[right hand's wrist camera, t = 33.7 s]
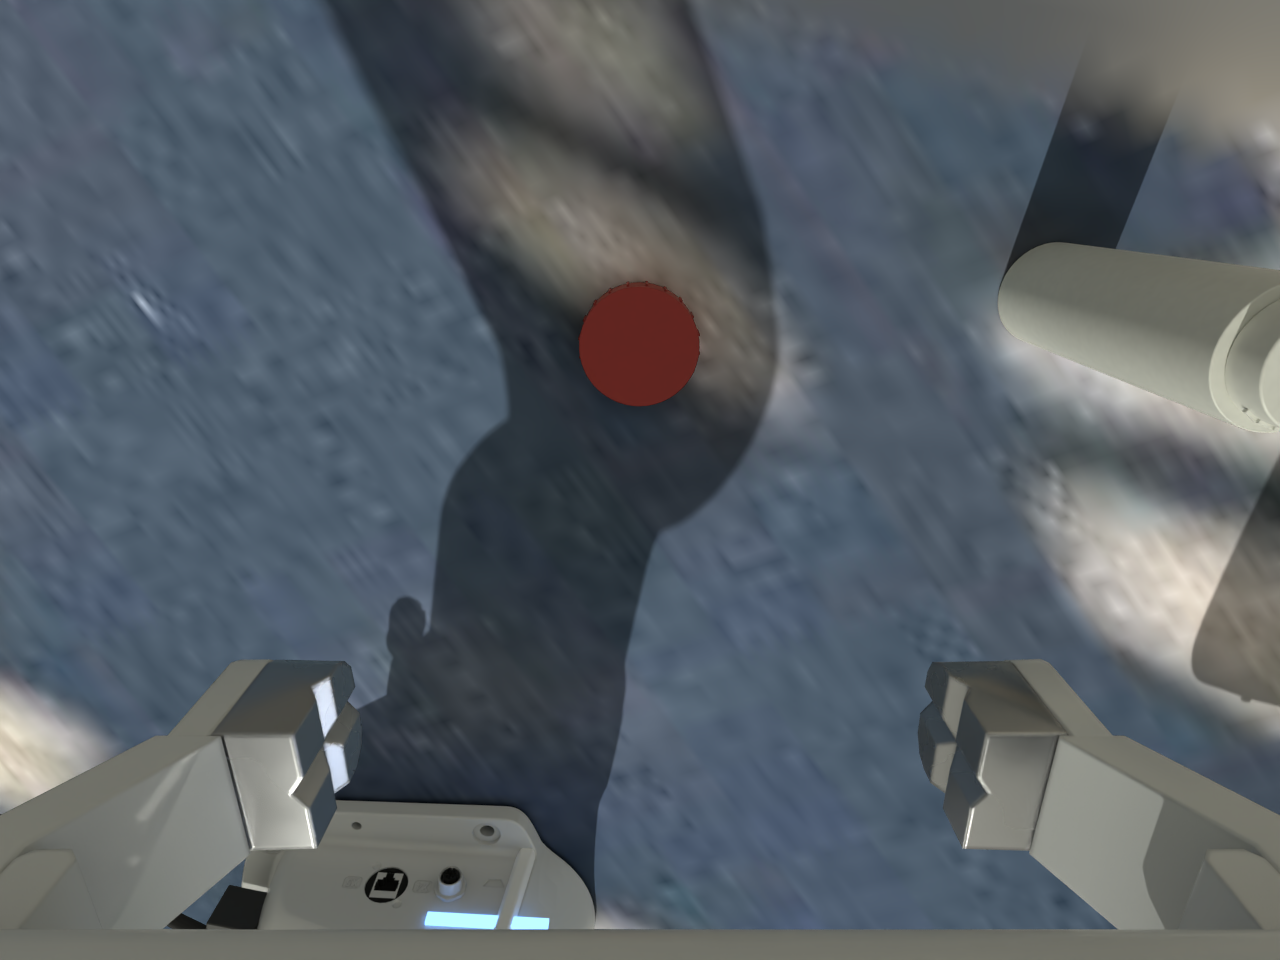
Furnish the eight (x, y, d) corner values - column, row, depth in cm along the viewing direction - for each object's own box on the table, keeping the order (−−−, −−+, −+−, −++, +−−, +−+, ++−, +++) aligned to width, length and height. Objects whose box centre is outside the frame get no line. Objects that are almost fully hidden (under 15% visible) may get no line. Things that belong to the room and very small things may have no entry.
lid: (556, 330, 35) (552, 337, 34) (650, 255, 34) (650, 258, 32) (629, 420, 37) (628, 430, 35) (721, 351, 36) (724, 358, 34)
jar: (1094, 335, 35) (1403, 436, 21) (996, 350, 36) (1235, 459, 21) (1102, 234, 34) (1442, 269, 19) (998, 250, 34) (1259, 295, 20)
